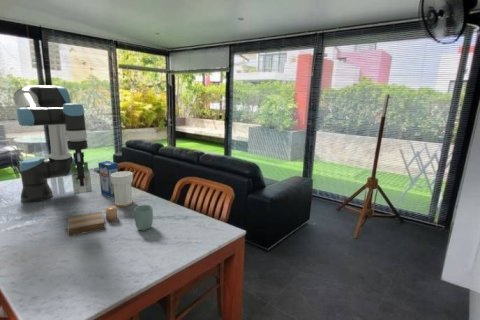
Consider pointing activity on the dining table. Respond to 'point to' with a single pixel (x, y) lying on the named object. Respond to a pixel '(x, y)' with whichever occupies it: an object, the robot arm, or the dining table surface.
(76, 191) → the ink box
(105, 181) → the milk carton
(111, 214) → the wooden peg
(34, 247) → the dining table surface
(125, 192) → the cup
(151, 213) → the cup
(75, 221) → the podium
